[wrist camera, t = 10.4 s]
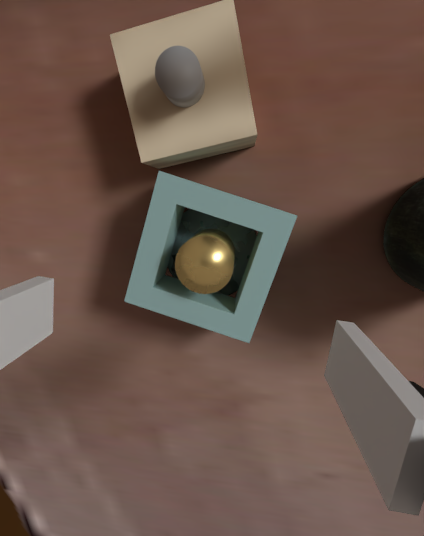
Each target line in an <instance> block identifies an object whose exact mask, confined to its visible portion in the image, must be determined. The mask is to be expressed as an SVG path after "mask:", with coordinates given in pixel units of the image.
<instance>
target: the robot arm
mask: <svg viewBox="0 0 424 536" xmlns="http://www.w3.org/2000/svg"><path fill="white" fill-rule="evenodd" d="M53 294H54V278H47V277H40V276H37V277H35V278H32V279H29V280H27V281H24V282H21V283H19V284H16V285H13V286H11V287H8V288H5V289H3V290H0V370H1V369H2V368H4V367H5V366H6V365H8V364H9V363H11V362H12V361H14V360H15V359H16V358H18V357H19V356H21V355H22V354H23V353H25V352H26V351H28V350H29V349H31V348H32V347H33V346H35V345H36V344H38V343H39V342H40V341H42V340H43V339H45V338H46V337H48V336H49V335H50V334H52V333H53ZM324 376H325V378H326V380H327V382H328V385H329V387H330V389H331V391H332V393H333V395H334V397H335V399H336V401H337V403H338V405H339V408H340V410H341V412H342V414H343V416H344V418H345V420H346V422H347V424H348V426H349V428H350V431H351V433H352V435H353V437H354V439H355V441H356V443H357V445H358V447H359V449H360V451H361V454H362V456H363V458H364V460H365V462H366V464H367V466H368V468H369V470H370V472H371V474H372V477H373V479H374V481H375V483H376V485H377V487H378V489H379V491H380V493H381V495H382V497H383V500H384V502H385V504H386V506H387V508H388V510H390V511H396V512H402V513H407V514H413V515H418V516H419V513H420V510H421V506H422V503H423V500H424V388H422V387H421V386H419V385H418V384H416V383H414V382H411V381H408V380H407V379H406V378H405V377H404V376H403V375H402V374H401V373H400V372H399V371H398V370H397V368H396V367H395V366H394V365H393V364H392V363H391V362H390V361H389V360H388V359H387V358H386V357H385V356H384V354H383V353H382V352H381V351H380V350H379V349H378V348H377V347H376V346H375V345H374V344H373V343H372V342H371V340H370V339H369V338H368V337H367V336H366V335H365V334H364V333H363V332H362V331H361V330H360V329H359V328H358V326H357V325H356V324H355V323H353V322H346V321H339V320H336V325H335V329H334V334H333V338H332V343H331V347H330V352H329V356H328V361H327V365H326V370H325V374H324Z"/></svg>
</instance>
